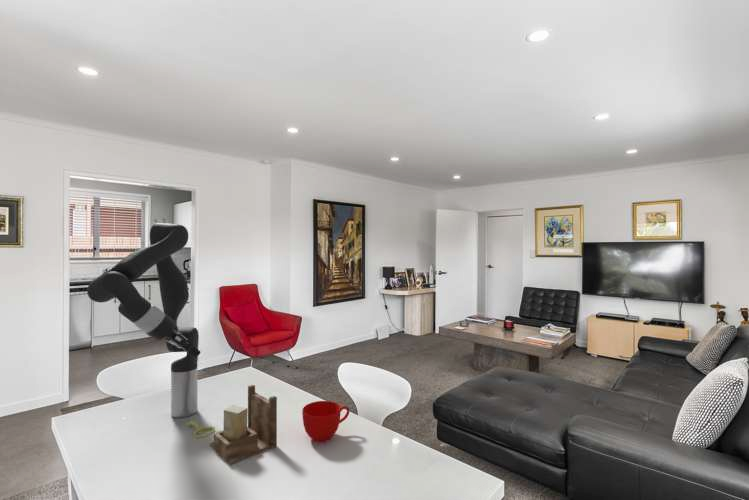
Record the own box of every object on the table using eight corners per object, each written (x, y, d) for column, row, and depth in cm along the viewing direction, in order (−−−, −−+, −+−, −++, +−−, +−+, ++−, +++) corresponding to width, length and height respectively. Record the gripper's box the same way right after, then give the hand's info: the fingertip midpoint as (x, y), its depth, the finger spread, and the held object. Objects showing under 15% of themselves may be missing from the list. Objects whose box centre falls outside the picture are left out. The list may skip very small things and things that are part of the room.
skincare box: (222, 447, 122) (222, 409, 121) (232, 441, 126) (232, 404, 125) (238, 452, 119) (238, 413, 119) (248, 445, 123) (247, 407, 123)
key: (191, 425, 140) (191, 419, 140) (217, 431, 135) (217, 425, 135) (175, 434, 133) (175, 428, 133) (201, 441, 129) (201, 434, 129)
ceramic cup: (357, 437, 130) (357, 408, 130) (310, 451, 121) (310, 420, 121) (341, 422, 141) (341, 395, 141) (296, 434, 132) (296, 405, 132)
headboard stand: (209, 445, 125) (209, 396, 125) (253, 429, 136) (253, 384, 136) (232, 466, 113) (232, 412, 113) (278, 446, 124) (278, 397, 124)
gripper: (171, 315, 113) (210, 346, 122) (156, 309, 123) (193, 338, 132) (151, 336, 110) (193, 367, 118) (137, 328, 120) (177, 357, 128)
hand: (193, 352), depth 125 cm, fingers open, 8 cm apart
